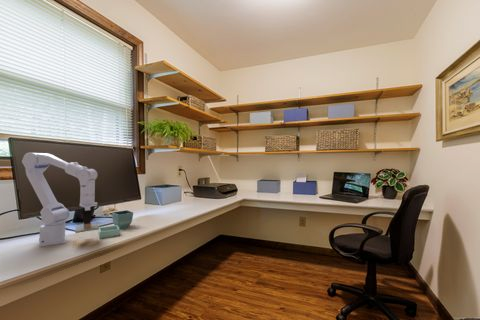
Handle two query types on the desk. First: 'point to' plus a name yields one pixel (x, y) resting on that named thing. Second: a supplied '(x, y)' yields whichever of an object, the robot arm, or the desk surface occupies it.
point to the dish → (108, 231)
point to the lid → (87, 227)
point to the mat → (85, 242)
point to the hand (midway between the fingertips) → (86, 222)
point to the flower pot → (122, 218)
